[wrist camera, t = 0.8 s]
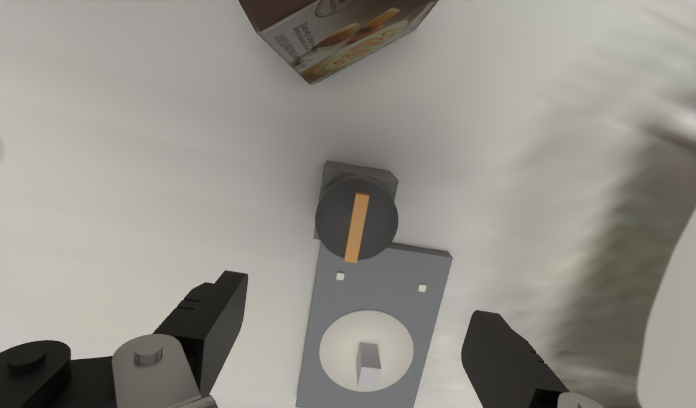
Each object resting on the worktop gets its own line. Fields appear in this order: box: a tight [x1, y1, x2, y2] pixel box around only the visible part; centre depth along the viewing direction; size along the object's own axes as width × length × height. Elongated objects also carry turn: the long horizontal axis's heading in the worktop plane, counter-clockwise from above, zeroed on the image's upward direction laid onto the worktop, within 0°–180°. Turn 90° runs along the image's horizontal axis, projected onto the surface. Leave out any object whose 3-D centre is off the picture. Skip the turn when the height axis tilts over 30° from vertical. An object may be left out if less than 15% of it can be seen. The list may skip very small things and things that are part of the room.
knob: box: [313, 161, 398, 263], centre depth 24 cm, size 5×5×7 cm
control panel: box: [295, 242, 453, 408], centre depth 28 cm, size 17×11×4 cm, turn 171°
